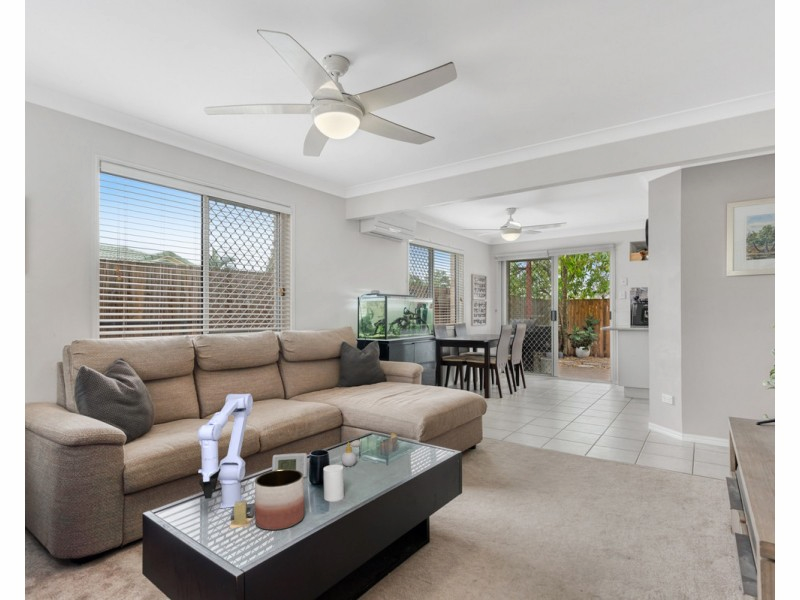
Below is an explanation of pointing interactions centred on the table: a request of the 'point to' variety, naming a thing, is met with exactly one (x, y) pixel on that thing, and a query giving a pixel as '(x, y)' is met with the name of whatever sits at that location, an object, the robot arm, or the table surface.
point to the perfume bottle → (350, 454)
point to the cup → (333, 483)
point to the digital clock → (290, 462)
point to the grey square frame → (249, 509)
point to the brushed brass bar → (240, 512)
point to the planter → (279, 499)
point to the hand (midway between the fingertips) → (210, 494)
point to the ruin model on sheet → (389, 445)
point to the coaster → (240, 525)
